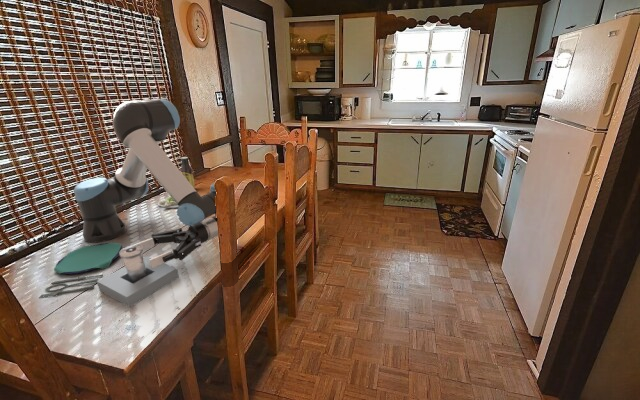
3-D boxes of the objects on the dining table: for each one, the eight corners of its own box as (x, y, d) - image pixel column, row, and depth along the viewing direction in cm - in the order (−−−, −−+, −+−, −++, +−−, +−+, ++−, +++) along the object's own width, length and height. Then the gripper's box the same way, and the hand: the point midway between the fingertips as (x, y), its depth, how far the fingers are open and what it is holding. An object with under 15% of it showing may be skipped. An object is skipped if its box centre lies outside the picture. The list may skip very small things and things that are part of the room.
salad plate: (175, 213, 150) (173, 204, 148) (148, 208, 156) (146, 200, 154) (202, 199, 166) (201, 191, 165) (177, 196, 172) (175, 188, 171)
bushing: (124, 285, 95) (114, 251, 91) (143, 274, 100) (135, 242, 96) (136, 291, 92) (126, 257, 88) (155, 280, 97) (146, 247, 93)
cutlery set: (130, 243, 121) (129, 238, 120) (100, 290, 94) (98, 284, 94) (73, 251, 117) (71, 246, 116) (25, 303, 90) (22, 297, 89)
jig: (99, 290, 93) (96, 281, 92) (148, 264, 106) (146, 256, 105) (129, 307, 86) (126, 297, 85) (178, 277, 99) (176, 268, 98)
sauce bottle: (181, 191, 179) (175, 158, 172) (189, 188, 185) (183, 155, 177) (190, 192, 177) (183, 159, 170) (197, 189, 182) (192, 156, 175)
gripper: (224, 251, 103) (162, 281, 88) (187, 231, 118) (128, 253, 103) (221, 231, 101) (156, 259, 85) (184, 213, 116) (123, 234, 100)
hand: (141, 256), depth 94 cm, fingers open, 13 cm apart
